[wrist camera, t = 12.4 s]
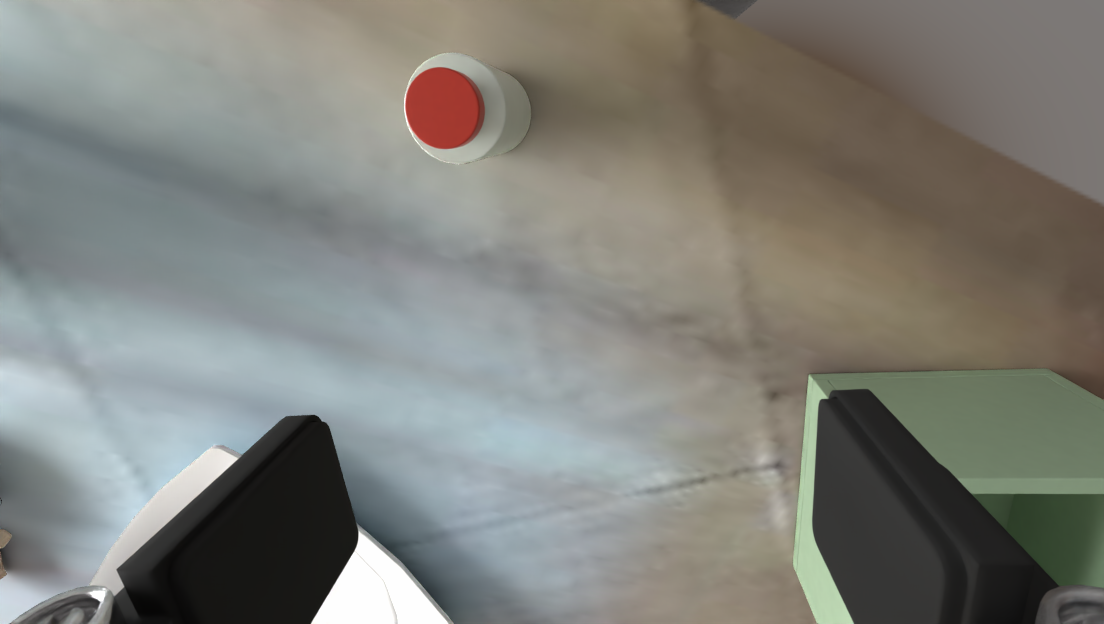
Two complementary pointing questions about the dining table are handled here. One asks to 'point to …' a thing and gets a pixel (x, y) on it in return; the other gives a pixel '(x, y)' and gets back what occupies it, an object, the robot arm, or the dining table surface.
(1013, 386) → the chest
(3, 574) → the toy figure
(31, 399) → the dining table surface
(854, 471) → the robot arm
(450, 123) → the spice bottle
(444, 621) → the plate
